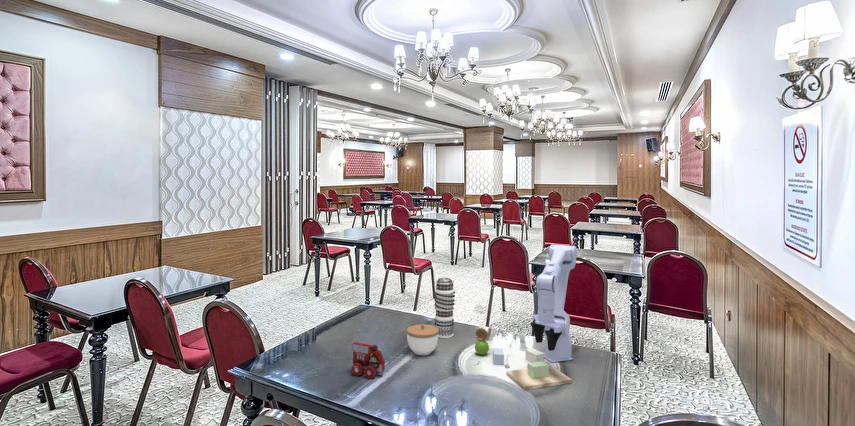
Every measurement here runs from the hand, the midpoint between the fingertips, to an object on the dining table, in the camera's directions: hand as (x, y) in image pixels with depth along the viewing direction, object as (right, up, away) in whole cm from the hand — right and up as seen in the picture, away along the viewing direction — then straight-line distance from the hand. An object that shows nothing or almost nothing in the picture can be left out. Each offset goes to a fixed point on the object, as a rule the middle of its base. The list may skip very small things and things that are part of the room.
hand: (545, 346), depth 151 cm
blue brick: (-15, -9, +9) cm, 20 cm away
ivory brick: (-1, -9, +10) cm, 13 cm away
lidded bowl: (-44, -8, +18) cm, 48 cm away
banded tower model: (-34, -7, +38) cm, 51 cm away
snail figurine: (-20, -8, +16) cm, 27 cm away
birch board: (-4, -10, -5) cm, 11 cm away
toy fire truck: (-62, -9, -2) cm, 63 cm away
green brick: (-4, -9, -5) cm, 11 cm away
